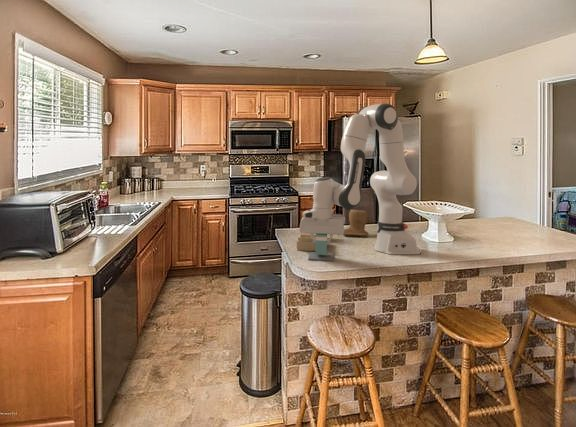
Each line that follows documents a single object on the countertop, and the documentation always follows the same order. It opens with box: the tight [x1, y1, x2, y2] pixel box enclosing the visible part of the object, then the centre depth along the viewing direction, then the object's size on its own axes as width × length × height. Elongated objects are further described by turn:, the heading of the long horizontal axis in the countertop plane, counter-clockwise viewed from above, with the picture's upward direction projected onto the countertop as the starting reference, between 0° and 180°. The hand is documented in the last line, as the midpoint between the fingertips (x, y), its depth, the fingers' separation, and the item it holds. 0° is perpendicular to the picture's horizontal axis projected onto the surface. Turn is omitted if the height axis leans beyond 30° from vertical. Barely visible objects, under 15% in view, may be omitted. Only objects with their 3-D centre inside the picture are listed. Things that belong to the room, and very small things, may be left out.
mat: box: [307, 251, 334, 262], centre depth 178 cm, size 11×11×1 cm
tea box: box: [314, 234, 328, 255], centre depth 177 cm, size 5×6×9 cm
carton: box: [296, 232, 316, 252], centre depth 196 cm, size 14×20×7 cm
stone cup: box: [342, 209, 369, 237], centre depth 223 cm, size 15×12×15 cm
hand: (321, 243), depth 177 cm, fingers closed on tea box, 5 cm apart
